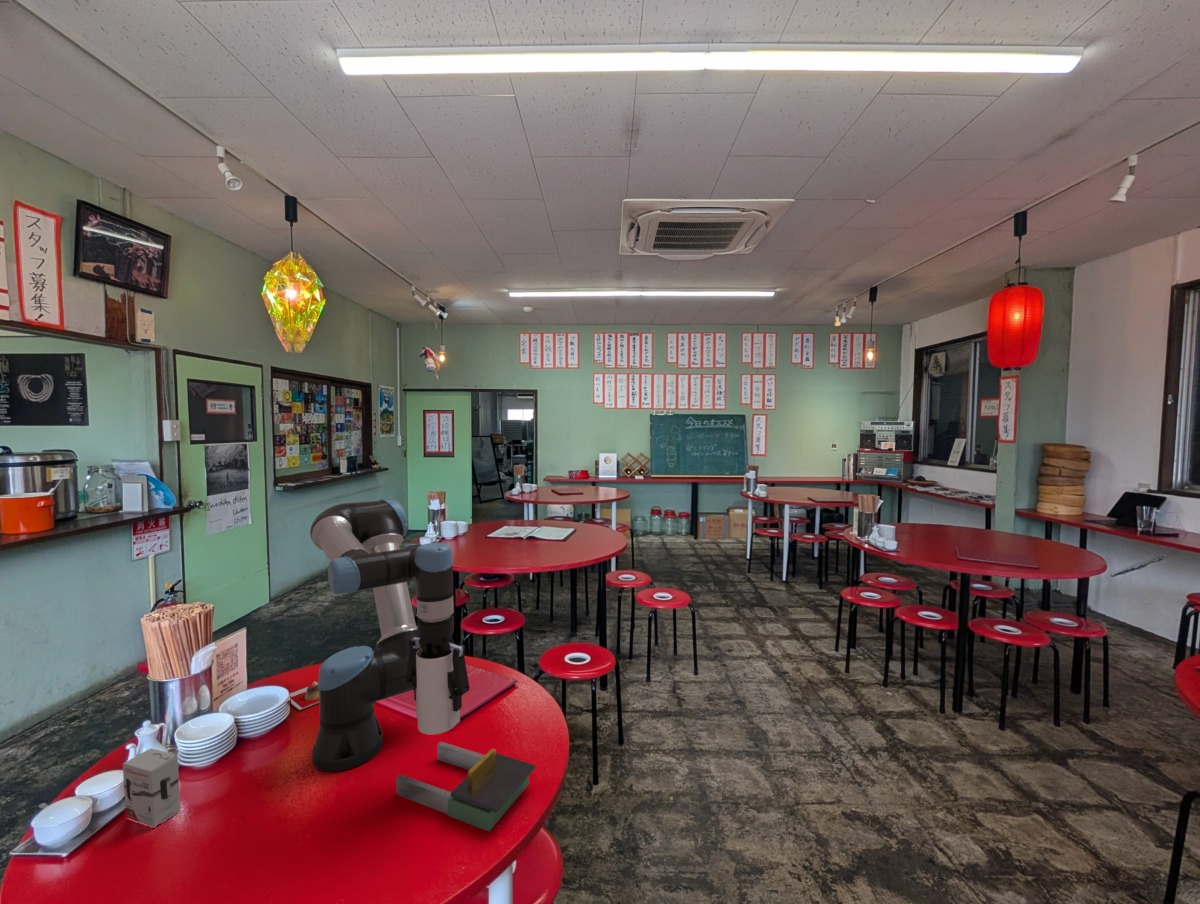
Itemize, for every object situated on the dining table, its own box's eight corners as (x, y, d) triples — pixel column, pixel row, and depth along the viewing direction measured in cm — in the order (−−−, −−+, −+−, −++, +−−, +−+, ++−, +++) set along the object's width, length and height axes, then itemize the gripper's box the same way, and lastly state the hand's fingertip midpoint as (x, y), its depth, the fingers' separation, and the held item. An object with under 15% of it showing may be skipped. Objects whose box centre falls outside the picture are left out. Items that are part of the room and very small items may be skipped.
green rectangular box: (447, 815, 98) (447, 798, 98) (490, 771, 111) (490, 756, 111) (489, 831, 94) (488, 813, 94) (529, 784, 107) (528, 768, 107)
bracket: (396, 794, 104) (396, 777, 104) (441, 756, 116) (440, 741, 116) (448, 814, 98) (448, 796, 98) (490, 772, 111) (489, 756, 110)
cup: (463, 713, 111) (461, 643, 111) (448, 735, 103) (446, 659, 102) (428, 712, 112) (426, 642, 111) (411, 733, 104) (408, 658, 103)
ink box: (123, 820, 98) (121, 762, 97) (153, 802, 103) (150, 746, 102) (153, 830, 95) (150, 770, 95) (181, 811, 100) (179, 754, 100)
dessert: (299, 714, 136) (298, 696, 136) (282, 699, 144) (282, 683, 143) (344, 695, 145) (343, 679, 145) (326, 683, 153) (325, 668, 153)
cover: (450, 796, 98) (450, 777, 98) (492, 755, 110) (492, 738, 110) (496, 813, 93) (496, 793, 93) (535, 768, 106) (534, 751, 106)
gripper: (385, 615, 108) (388, 718, 108) (462, 629, 99) (465, 741, 100) (411, 604, 114) (414, 701, 115) (486, 617, 106) (488, 721, 107)
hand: (438, 719), depth 107 cm, fingers closed on cup, 8 cm apart
